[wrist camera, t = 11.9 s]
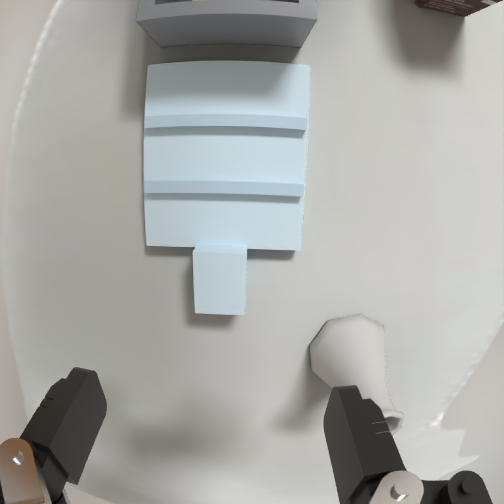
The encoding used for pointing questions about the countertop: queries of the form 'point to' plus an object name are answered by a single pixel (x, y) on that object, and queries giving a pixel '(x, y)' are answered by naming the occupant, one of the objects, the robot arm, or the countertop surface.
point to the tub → (227, 21)
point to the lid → (225, 167)
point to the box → (456, 5)
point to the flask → (356, 361)
